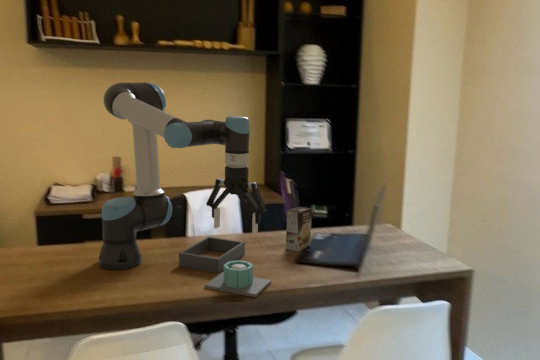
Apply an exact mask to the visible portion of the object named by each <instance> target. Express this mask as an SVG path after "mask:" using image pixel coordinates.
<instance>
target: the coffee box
mask: <svg viewBox="0 0 540 360" xmlns="http://www.w3.org/2000/svg"><path fill="white" fill-rule="evenodd" d="M312 214H313V209H312V208H309V207H303V206H297V207H294V208H291V209H287V211H286V229H285V230H286V233H285V235H286V236H285V237H286V238H285V249H286V250H289V251H293V252H301V251H303V250H305V249H304V248H306V247H307V246H308V245H310V246H311V238H312V232H311V231H312ZM306 249H307V248H306Z"/></svg>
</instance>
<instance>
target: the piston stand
mask: <svg viewBox="0 0 540 360" xmlns="http://www.w3.org/2000/svg"><path fill="white" fill-rule="evenodd" d="M231 268H232V269H245V268H246V266H245V265H243V264H235V265H232V266H231ZM271 284H272V280H271V279H267V278H260V277H254V276H253V283H252V284H251V285H250V286H249V287H244V288H233V287H227V286H226V285H225V284H224V271H221V272H220V274H219V273H218V275H217V276H215V277H214V278H212V279H211V280H209V281H208V282H207V283H206V284H205V285H204V288H205V289H209V290H213V291H221V292H226V293H232V294H236V295H241V296H246V297H250V298H251V297H252V298H257V297H258V296H259V295H260V294H261V293H263V291H264V290H265V289H266V288H267V287H269V285H271Z"/></svg>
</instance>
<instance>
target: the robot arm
mask: <svg viewBox="0 0 540 360" xmlns="http://www.w3.org/2000/svg"><path fill="white" fill-rule="evenodd" d="M103 104H104V105H103V106H104V107H105V109H106V111H107V112H108V113H109V114H111V115H112V116H113V117H115V118H116V119H119V120H127V121H128V122H129V123H130V124H131V125H132V132H133V133H132V137H133V150H134V151H133V152H134V166H135V179H136V190H134V192H133V193H132V197H131V196H123V197H115V198H111V199H109V200H107V201H105V202H104V203H103V205H102V207H101V224H102V225H101V227H102V246H101V248H100V249H101V250H100V252H99V256H98V266H99V267H100V268H103V269H104V270H105V269H106V270H112V271H113V270H114V271H115V270H116V271H117V270H121V271H122V270H129V269H131V268H135V267H138V266H139V265H141V263H142V262H143V258H142V257H143V256H142V253H141V251H140V248H139V245H138V242H137V232H141V231H144V230H149V229H152V228H159V227H160V226H163V225H166V224H167V223H168V222H169V221H170V219H171V217H172V214H173V205H172V201H170V200H171V199H170V198H169V196H168V195H166V194H165V190H164V189H162V187H161V179H160V178H161V177H160V162H159V160H160V159H159V148H158V147H159V145H158V136H159V137H162V138H163V139H164V141H165V143H166V144H167V146H168V147H170V148H172V149H184V148H190V147H198V146H208V145H219V146H224V149H225V150H224V152H225V153H224V165H226V166H225V167H224V179H223V178H222V177H220V178H216V179H215V183H214V187H213V189H212V191H211V192H210V195H209V197H208V199H207V201H206V204H205V205H206V207H207V206H208V207H210V208H211V217H212V218H213V229H214V230H216V229H218V228H219V227H220V226H221V207H220V204H222V202H223V201H224V200H225V198H226V197H227V196H228V195H236V196H241V197H242V198H244V200H245V201H246V202H247V204H248V205H249V207H250V208H251V209H252V211H253V214H252V225H251V226H252V227H251V229H252V230H251V234H252V235H256V234H257V233H258V232H259V230H258V229H259V224H260V223H261V219H262V218H261V217H262V215H261V214H263V213H266V212H267V211H268V210H267V207H266V204H265V202H264V200H263V197H262V194H261V193H260V190H259V183H258V182H257V181H255V182H250V181H249V171H250V170H249V169H250V167H249V166H248V165H249V164H250V149H249V148H250V133H251V129H250V119H249V118H248V117H247V116H242V115H241V116H239V115H232V116H226V118H225V121H220V120H214V119H201V121H186V120H183V119H181V118H178V117H177V116H174V115H172V114H170V113H168V112H166V111H165V109H166V107H167V101H166V96H165V92H164V91H163V89H162V88H161V87H160V86H159V85H158V84H156V83H152V82H145V81H144V82H117V83H114V84H112V85H111V86H109V87H108V88H107V89H106V91H105V92H104V95H103ZM222 186H224V187H225V189H224V190H223V191H222V193H221V194H220V195H219V196H218V194H219V192H220V190H221V188H222ZM248 188H250V190H251V192H252V195H251V193H250V191H249V189H248ZM217 196H218V198H217Z"/></svg>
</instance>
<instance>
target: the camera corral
mask: <svg viewBox="0 0 540 360" xmlns="http://www.w3.org/2000/svg"><path fill="white" fill-rule="evenodd" d="M208 251H214V252H220V253H224V254H222V255H220V256H218V257H212V256H205V255H203V254H205V253H207V252H208ZM245 255H246V241H240V240H233V239H228V238H226V239H225V238H220V237H214V236H213V237H212V236H207V237H205V238H203V239H202V240H200V241H198V242H196V243H194V244H193V245H191V246H189V247H187V248H186V249H185V248H184V250H182V251H180V252H179V253H178V267H180V268H182V267H183V268H187V269H193V270H198V271H203V272H210V273H214V274H215V273H216V274H219V273H220V274H221V273H222V272H223V271H224V264H226V263H227V262H229V261H237V260H239V259H240V258H242V257H244V256H245Z"/></svg>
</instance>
